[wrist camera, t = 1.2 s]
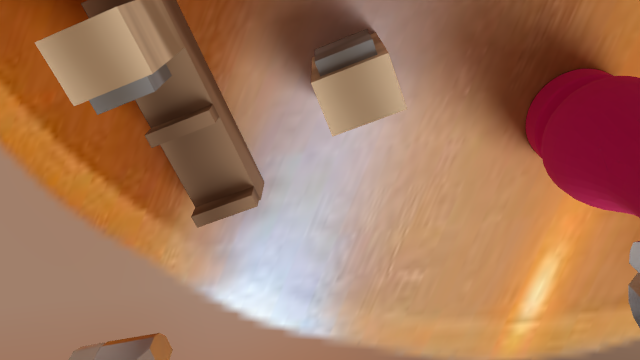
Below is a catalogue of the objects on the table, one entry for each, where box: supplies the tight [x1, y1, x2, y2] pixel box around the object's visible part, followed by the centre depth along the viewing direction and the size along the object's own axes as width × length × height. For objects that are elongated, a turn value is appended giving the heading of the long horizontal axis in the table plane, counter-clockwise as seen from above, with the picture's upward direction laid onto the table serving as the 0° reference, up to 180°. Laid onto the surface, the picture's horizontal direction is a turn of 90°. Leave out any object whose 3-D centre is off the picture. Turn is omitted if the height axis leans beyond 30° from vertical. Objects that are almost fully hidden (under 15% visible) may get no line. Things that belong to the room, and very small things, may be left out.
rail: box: [35, 0, 264, 228], centre depth 28 cm, size 4×14×8 cm, turn 21°
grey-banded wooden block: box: [311, 29, 407, 136], centre depth 28 cm, size 4×4×6 cm
